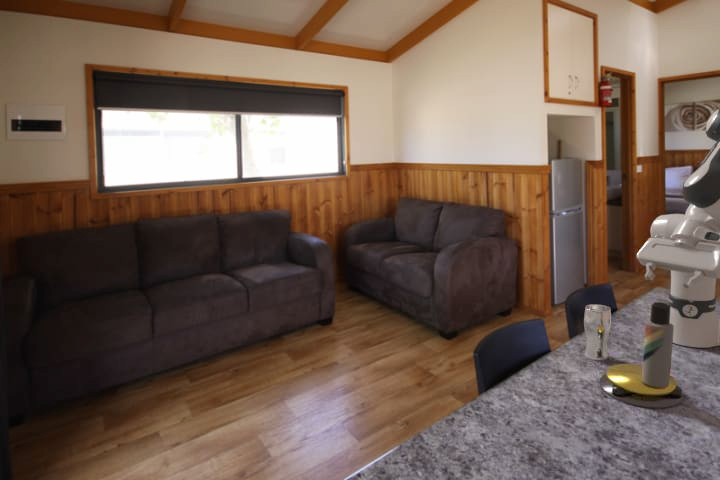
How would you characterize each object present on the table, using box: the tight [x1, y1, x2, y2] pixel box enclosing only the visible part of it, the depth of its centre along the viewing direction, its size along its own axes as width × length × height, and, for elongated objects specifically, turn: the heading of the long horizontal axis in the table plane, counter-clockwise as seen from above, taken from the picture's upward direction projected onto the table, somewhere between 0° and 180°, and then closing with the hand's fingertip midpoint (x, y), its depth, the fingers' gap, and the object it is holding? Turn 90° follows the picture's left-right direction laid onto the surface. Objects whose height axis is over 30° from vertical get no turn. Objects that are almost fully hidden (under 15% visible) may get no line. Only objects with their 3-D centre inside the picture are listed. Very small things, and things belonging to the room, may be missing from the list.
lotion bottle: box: [642, 301, 674, 388], centre depth 112 cm, size 6×6×20 cm
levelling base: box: [599, 363, 684, 410], centre depth 117 cm, size 18×18×3 cm
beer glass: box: [583, 304, 612, 361], centre depth 135 cm, size 7×7×15 cm
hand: (666, 282), depth 117 cm, fingers open, 8 cm apart
